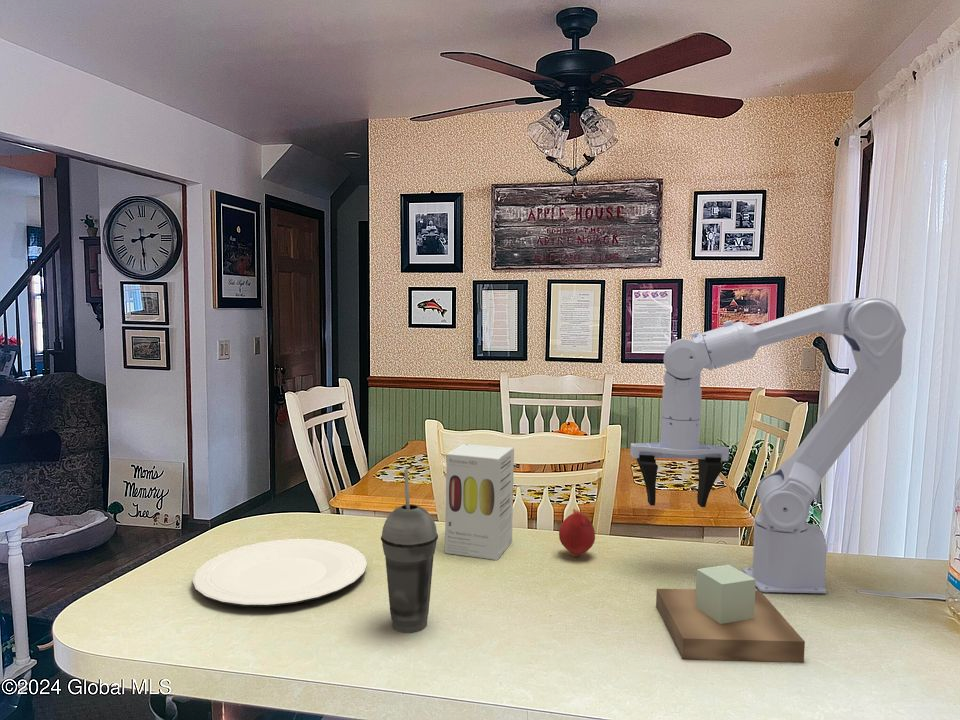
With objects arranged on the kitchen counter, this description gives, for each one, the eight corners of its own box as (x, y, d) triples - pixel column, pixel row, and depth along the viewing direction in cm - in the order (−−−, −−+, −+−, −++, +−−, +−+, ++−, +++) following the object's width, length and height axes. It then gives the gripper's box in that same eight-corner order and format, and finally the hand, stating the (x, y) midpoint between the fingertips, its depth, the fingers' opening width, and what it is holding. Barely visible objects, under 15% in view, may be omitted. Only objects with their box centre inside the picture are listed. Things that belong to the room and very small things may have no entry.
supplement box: (443, 554, 113) (443, 453, 112) (461, 535, 122) (462, 442, 121) (499, 561, 111) (500, 457, 109) (513, 542, 119) (515, 446, 118)
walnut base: (759, 608, 94) (760, 590, 94) (803, 662, 80) (804, 641, 80) (656, 606, 95) (656, 588, 94) (682, 658, 81) (683, 638, 80)
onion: (593, 550, 115) (594, 504, 115) (595, 563, 110) (596, 514, 109) (558, 549, 116) (559, 502, 115) (558, 562, 110) (559, 513, 110)
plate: (152, 598, 97) (152, 584, 96) (270, 540, 120) (269, 530, 120) (300, 631, 87) (300, 616, 87) (396, 562, 110) (396, 550, 110)
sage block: (727, 601, 90) (728, 564, 90) (754, 618, 86) (755, 579, 85) (695, 606, 89) (696, 569, 88) (720, 624, 84) (722, 584, 84)
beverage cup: (392, 643, 84) (392, 481, 82) (373, 618, 90) (372, 468, 89) (447, 630, 87) (447, 475, 86) (424, 607, 94) (424, 462, 92)
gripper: (720, 414, 109) (715, 498, 110) (628, 411, 110) (624, 495, 111) (735, 422, 102) (730, 512, 103) (636, 419, 103) (632, 508, 104)
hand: (676, 504), depth 107 cm, fingers open, 7 cm apart
